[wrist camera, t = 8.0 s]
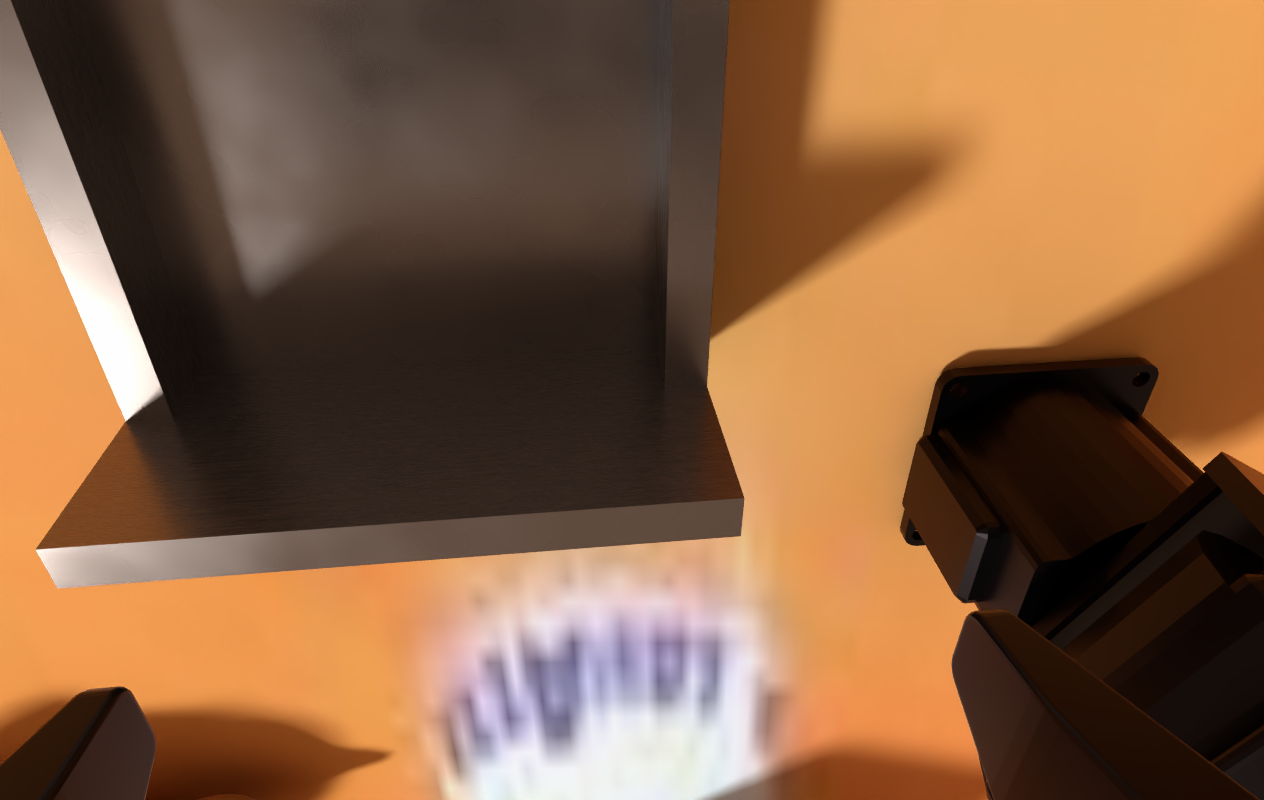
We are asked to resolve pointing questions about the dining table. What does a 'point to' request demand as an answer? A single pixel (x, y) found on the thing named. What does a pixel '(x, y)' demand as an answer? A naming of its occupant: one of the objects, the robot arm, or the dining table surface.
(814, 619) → the dining table surface
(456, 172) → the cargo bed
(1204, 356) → the dining table surface
